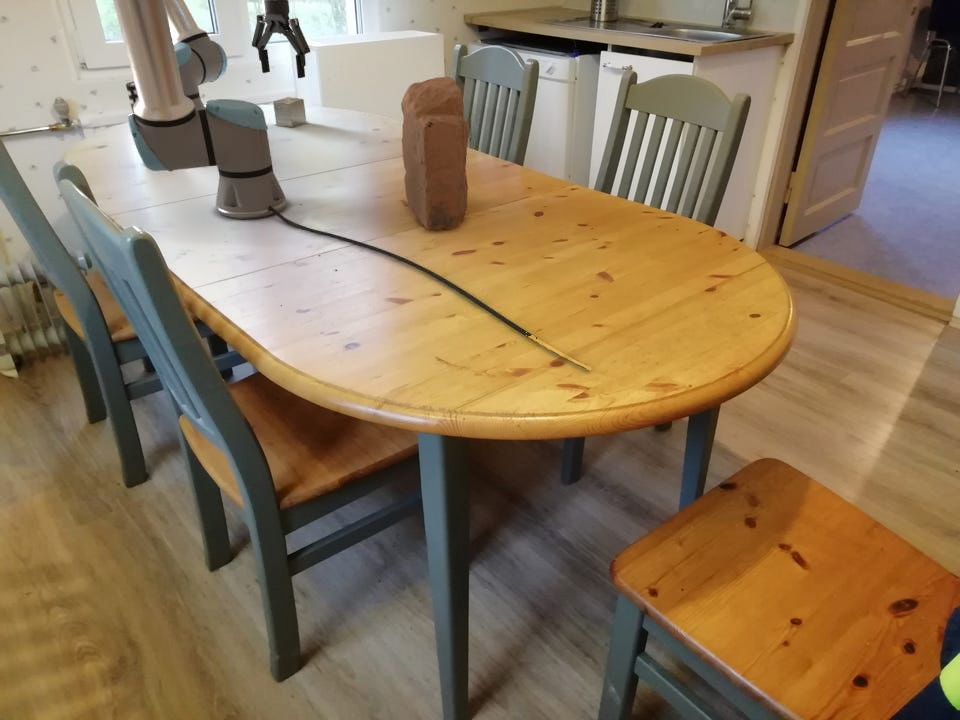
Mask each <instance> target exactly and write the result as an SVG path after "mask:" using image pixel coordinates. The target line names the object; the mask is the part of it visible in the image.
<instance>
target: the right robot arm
mask: <svg viewBox="0 0 960 720" xmlns="http://www.w3.org/2000/svg"><path fill="white" fill-rule="evenodd" d="M112 1H113V5H114V9H115V13H116V17H117V21H118V25H119V29H120V33H121V36H122V40H123V45H124V48H125V52H126V55H127V59H128V64H129V67H130V71H131V72H130V73H131V75H132V80H133V82H134V83H135V87H136V91H137V95H138V100H137V101H136V102H135V103H134V105H133V111H134V114H133V113H131V114H129V115H128V117H127V123H128V127H129V131H130V133H131V135H132V139H133V142H134V145H135V148H136V150H137V153H138V154H139V158H140V159H141V161H142V163H143V164H144V165H145V167H146V168H147V169H149V170H150V171H152V172H153V171H154V172H165V171H167V172H173V171H177V170H187V169H198V168H199V169H200V168H208V167H217V169H218V170H217V172H218V185H217V193H216V201H215V206H216V210H217V213H218V214H219V215H221V216H223V217H225V218H229V219H236V220H253V219H260V218H261V219H262V218H265V217H266V218H267V217H270V216H274V215H276V217H277V218H279V219H280V220H281V221H283V222H285V223H286V224H287V225H290V226H292V227H293V228H296V229H300V230H303V231H305V232H308V233H313V234H316V235H321V236H325V237H328V238H332V239H336V240H340V241H342V242H346V243H350V244H353V245H357V246H359V247H362V248H364V249H369V250H371V251H373V252H374V251H375V252H376V253H379V254H383V255H385V256H387V257H388V256H389V257H391V258H393V259H396V260H398V261H400V262H402V263H405V264H406V265H409V266H411V267H414V268H415V269H417V270H419V271H422V272H423V273H425V274H427V275H428V276H430V277H433V278H434V279H435V280H438V281H440V282H441V283H443V284H445V285H446V286H448V287H450V288H451V289H453V290H455V291H456V292H458V293H459V294H461V295H462V296H463V297H465V298H467V299H469V300H470V301H472V302H473V303H475V304H476V305H478V306H479V307H481V308H482V309H483V310H485V311H487V312H488V313H490V314H491V315H492V316H494V317H495V318H497V319H499V320H500V321H501V322H503V323H505V324H506V326H507V325H508V326H509V327H510V328H512V329H514V330H515V331H516V332H518V333H520V334H521V335H523V336H525V335H527V337H526V338H528V336H531V335H533V334H532V333H530V332H529V331H527V330H526V329H524V328H523V327H521V326H520V325H517V324H516V323H514V321H511V320H510V319H508V318H507V317H505V316H504V315H502V314H501V313H499V312H498V311H496V310H495V309H494V308H492V307H490V306H488V305H487V304H486V303H484V302H482V301H481V300H479V299H478V298H477V297H475V296H474V295H472V294H471V293H469V292H468V291H466V290H464V289H463V288H461V287H460V286H458V285H456V284H454V283H453V282H451V281H450V280H448V279H446V278H445V277H443V276H441V275H439V274H437V273H435V272H434V271H432V270H430V269H428V268H427V267H424V266H422V265H420V264H418V263H417V262H415V261H412V260H410V259H407V258H405V257H402V256H400V255H398V254H395V253H392V252H390V251H387V250H384V249H383V248H380V247H377V246H374V245H371V244H368V243H366V242H365V243H364V242H361V241H358V240H355V239H352V238H349V237H345V236H341V235H339V234H334V233H331V232H327V231H322V230H317V229H314V228H310V227H307V226H304V225H301V224H298V223H295V222H294V221H292V220H290V219H287V218H286V217H285V216H284V215H282V214H281V213H280V212H282V211H283V210H285V209H286V207H287V199H286V194H285V193H284V191H283V189H282V187H281V184H280V182H279V180H278V179H277V177H276V175H275V172H274V167H273V160H272V155H271V149H270V142H269V137H268V125H267V123H266V118H265V113H264V110H263V109H262V108H261V107H260V106H259V105H258V104H255V103H253V102H250V101H246V100H241V99H231V98H217V99H209V100H207V101H206V102H205V104H204V107H205V109H200V110H195V107H194V103H193V101H192V100H191V99H189V98H188V97H186V96H185V95H184V92H183V87H182V82H181V77H180V73H179V68H178V63H177V58H176V54H175V49H174V44H173V41H174V40H173V37H172V35H171V30H170V25H169V20H168V16H167V11H166V6H165V1H164V0H112ZM133 111H132V112H133ZM526 332H527V333H526ZM535 337H536V339H537V338H538V336H535Z"/></svg>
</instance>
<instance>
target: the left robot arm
mask: <svg viewBox="0 0 960 720" xmlns="http://www.w3.org/2000/svg"><path fill="white" fill-rule="evenodd" d="M164 1H165V6H166V11H167V16H168V20H169V25H170V30H171V35H172V39H173V44H174V49H175V54H176V58H177V63H178V68H179V73H180V77H181V82H182V87H183V92H184V95H185V96H186V97H188V98H189V99H191V100H192V101H193V103H194V107H195V110H200V109H205V104H204V103H203V101H202V99H201V95H200V89H199V86H202V85H205V84H208V83H213V82H216V81H217V80H219V79H221V78H222V77H224V76H225V74H226V72H227V67H228V57H227V54H226V52H225V50H224V48H223V47H222V46H221V44H219V43H217V42H216V41H214V40H211V38H210V37H209V35H208V32H207V31H206V30H204V29H201V28H200V27H199V26H198V24H197V22H196V20H195V19H194V17H193V15H192V13H191V11H190V9H189V7H188V6H187V4H186V2H185V0H164ZM261 2H262V9H263V14H257V15H256V25H255V29H254V32H253V37H252V41H251V47H252V48H256V50H257V52H258V53H257V54H258V59H259V61H260V65H261V70H262V74H267V73H270V72H271V70H270V69H271V68H270V61H269V52H268V49H267V45H268V44H269V41H270V39H271V38H272V36H273V34H280V35H283V36H284V37H285V38H286V39H287V41H288V42H289V43H290V45H291V47H292V48H293V49H294V51H295V52H296V54H295V64H296V65H295V66H296V74H297V79H303V78H306V69H305V67H306V65H307V62H306V54H309V53H311V49H310V46H309V44H308V42H307V39H306V37H305V35H304V33H303V31H302V28H301V25H300V21H299V18H298V17H295V18H290V3H289V2H290V1H289V0H262V1H261Z"/></svg>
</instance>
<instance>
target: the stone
mask: <svg viewBox="0 0 960 720" xmlns="http://www.w3.org/2000/svg"><path fill="white" fill-rule="evenodd" d="M400 107H401V112H402V114H403V115H402V116H403V118H402V119H403V120H402V121H403V122H402V130H401V133H402V138H401V147H402V161H403V167H404V170H405V174H404V178H403V179H404V180H403V181H404V190H405V197H406V201H407V203H408V204H409V207H410V208H411V210H412V212H413V213H414V215H415V217H416V219H417V220H418V221H419V223H420V224H421V225H422V226H424V228H425V230H427V231H440V230H447V229H453V228H456V227H457V226H458V225H459V224H460V223H462V222H464V220H465V217H466V216H465V215H466V212H467V209H468V190H469V186H468V177H467V169H466V168H467V167H466V166H467V156H468V143H469V142H468V141H469V121H467V120H466V119H465V115H464V113H465V111H464V110H465V109H464V108H465V107H464V99H463V95H462V91H461V88H460V87H459V85H457V81H455V80H454V78H453V77H451V76H438V77H434V78H429V79H425V80H423V81H419V82H413V83H412V84H410V85H409V86H408V88H407V89H406V91H405V92H404V95H403V96H402V99H401V103H400Z"/></svg>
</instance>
